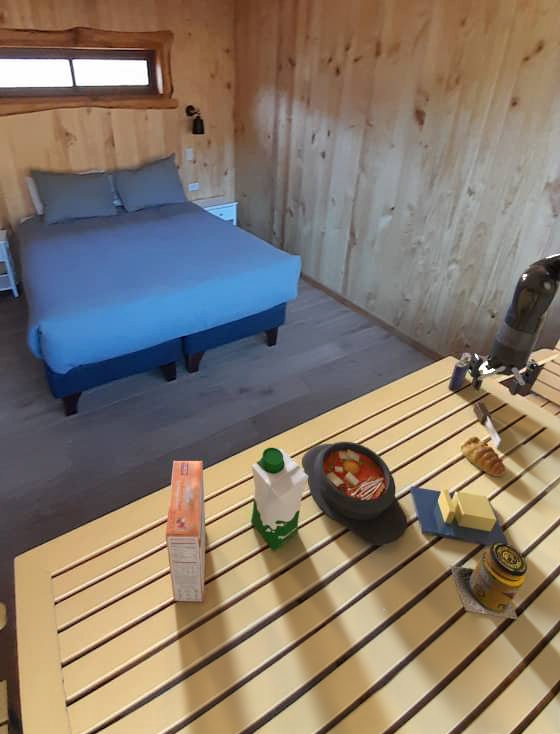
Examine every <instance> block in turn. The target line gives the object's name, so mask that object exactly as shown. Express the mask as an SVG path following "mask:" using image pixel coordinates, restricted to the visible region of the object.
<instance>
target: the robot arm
mask: <svg viewBox="0 0 560 734" xmlns="http://www.w3.org/2000/svg"><path fill="white" fill-rule="evenodd" d="M559 290H560V252H558V253H555V254H552V255H549V256H546V257H543V258H541V259H539V260H537V261H535V262H533V263H531V264H529V265H528V266H527V267H526V268H525V269H524V270H523V272H522V273H521V275H520V276H519V278H518V279H517V283H516V285H515V288H514V292H513V295H512V299H511V302H510V305H509V306H508V308H507V310H506V313H505V315H504V318H503V320H502V322H501V323H500V325H499V327H498V329H497V332H496V334H495V337H494V340H493V342H492V345H491V347H490V352H489V354H488V355H487V356H485V355H480V353H478V352H476V353H474V354H473V356H472V359H471V362H470V364H469V367H468V369H467V370H468V371H467V373H468V374H469V375H470V377H471V378H472V379H471V382H470V385H471V386H472V388H473V389H474V390H475V391H477V392H479V391H480V390H481V386H482V384H483V382H484V379H487V377H489V378H491V377H492V376H494V375H498V376H501V375H502V376H506V377H510V376H513V378H512V381H511V383H510V385H509V387H508V392H509V394H510V395H511V396H517V395H518V394H520V392H521V389H522V387H523V386H525V385H526V384H528V385H533V384H535V381H536V379H537V376H538V374H539V371H540V369H541V367H540V365H539V364H538V362H537V361H536V360H535V359H533V358H532V359H530V357H531V355H532V352H533V350H534V348H535V346H536V345H537V341H538V340H539V335H540V331H541V329H542V327H543V325H544V323H545V320H546V318H547V313H548V310H549V309H550V307H551V305H552V303H553V301H554V299H555V298H556V295H557V293H558V291H559ZM529 359H530V360H529ZM489 368H490V370H489ZM525 368H526V369H525ZM524 369H525V371H524V374H523V375H522V374H521V373H520V371H522V370H524Z"/></svg>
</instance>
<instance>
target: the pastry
mask: <svg viewBox="0 0 560 734" xmlns="http://www.w3.org/2000/svg"><path fill="white" fill-rule="evenodd" d="M459 448H460V451H461V453H462V455H463V456H464V457H465V458H466V459H467V460H468V461H469V462H470V463H472V464H473V465H475V467H477V468H479V469H480V470H481V471H483V472H484V473H486V474H489V475H490V476H491V475H492V476H493V477H500V476H502V475H503V474H504V473H506V467H505V464H504V462H503V460H502V459H501V458H500V457H499V454H498V453H497V452H495V450H494V448H493V447H492V446H489V444H488V443H487V442H486V440H481V439H480V438H479V437H478V436H475V435H474V436H470V437H468V438H467V439H465V440H464V441H463V442H461V444H460V445H459Z"/></svg>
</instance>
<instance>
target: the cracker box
mask: <svg viewBox="0 0 560 734" xmlns="http://www.w3.org/2000/svg"><path fill="white" fill-rule="evenodd" d="M203 465H204V464H203V460H173V464H172V473H171V481H170V482H171V483H170V491H169V492H170V493H169V503H168V512H167V521H166V528H165V529H166V531H165V541H166V548H167V549H166V550H167V556H168V563H169V572H170V582H171V588H172V596H173V601H174V602H192V603H193V602H194V603H195V602H197V603H198V602H199V603H204V601H205V578H206V577H205V574H206V573H205V572H206V508H205V507H206V506H205V490H204V489H205V488H204V468H203Z"/></svg>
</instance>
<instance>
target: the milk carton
mask: <svg viewBox="0 0 560 734" xmlns="http://www.w3.org/2000/svg"><path fill="white" fill-rule="evenodd" d="M251 471H252V477H253V483H254V491H253V504H252V505H253V507H252V514H251V520H250V524H252V526H253V527H254V528H255V530H256V531H257V532H258V534H259V535H260V536H261V538H263V540H264V541H265V543H266V544H267V545H268V547H269V548H270V549H271V550H272V552H275V551H276V550H277V549H279V548H280V547H281V546H282V545H284V544H285V543H286V542H288V540H290V539H291V538H292V537H294V536H295V535H296V534H298V533H299V518H300V517H299V516H300V512H301V503H302V498H303V495H304V494H303V493H304V491H305V487H306V484H307V483H308V475H307V474H306V473H305V471H304V469H303V468H301V467H300V465H299V464H298V463H296V461H294V459H293V458H292V457H290V456H289V454H287V453H286V452H285V451H284V450H283V449H282V448H281V447H279V448H277V447H267V448H265V449H264V451H263V452H262V456H261V458H260V459H259V460H258V461H256V462H255V463H254V464H253V465H252V466H251Z"/></svg>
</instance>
